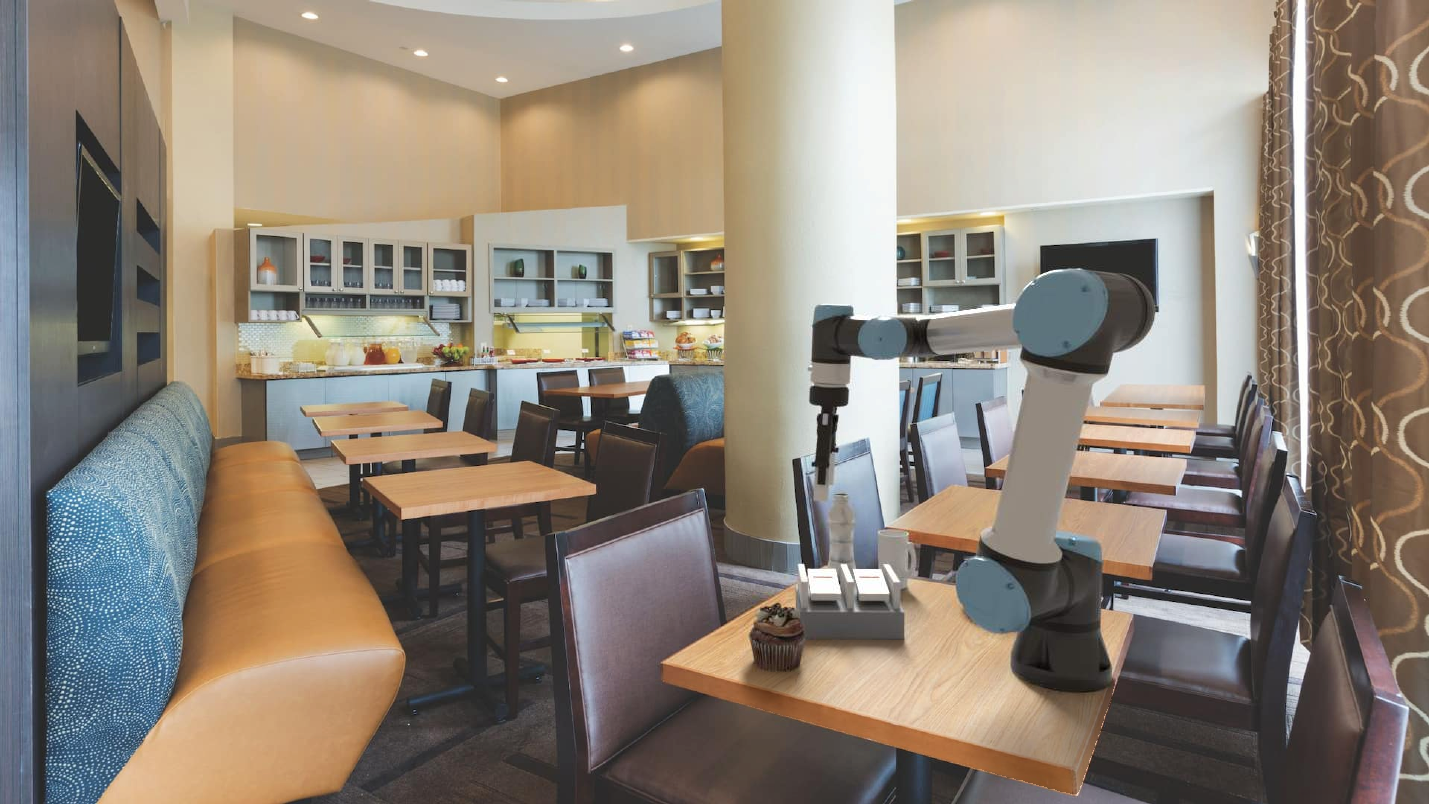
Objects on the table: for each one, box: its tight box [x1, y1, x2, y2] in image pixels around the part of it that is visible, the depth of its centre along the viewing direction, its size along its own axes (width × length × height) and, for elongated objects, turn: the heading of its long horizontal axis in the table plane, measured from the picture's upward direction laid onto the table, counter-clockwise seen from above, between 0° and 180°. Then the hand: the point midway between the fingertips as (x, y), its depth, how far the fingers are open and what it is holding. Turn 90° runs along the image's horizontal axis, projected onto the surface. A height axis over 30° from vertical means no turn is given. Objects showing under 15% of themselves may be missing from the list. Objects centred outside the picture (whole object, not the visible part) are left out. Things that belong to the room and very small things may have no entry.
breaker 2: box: [853, 568, 889, 601], centre depth 149 cm, size 10×6×2 cm, turn 177°
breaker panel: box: [795, 563, 905, 640], centre depth 150 cm, size 16×19×10 cm
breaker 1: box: [807, 568, 841, 601], centre depth 150 cm, size 10×6×2 cm, turn 177°
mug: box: [877, 529, 917, 590], centre depth 172 cm, size 10×7×12 cm, turn 32°
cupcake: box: [748, 602, 806, 673], centre depth 132 cm, size 10×10×10 cm
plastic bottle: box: [826, 492, 857, 582], centre depth 177 cm, size 6×7×20 cm
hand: (823, 492), depth 152 cm, fingers open, 13 cm apart
